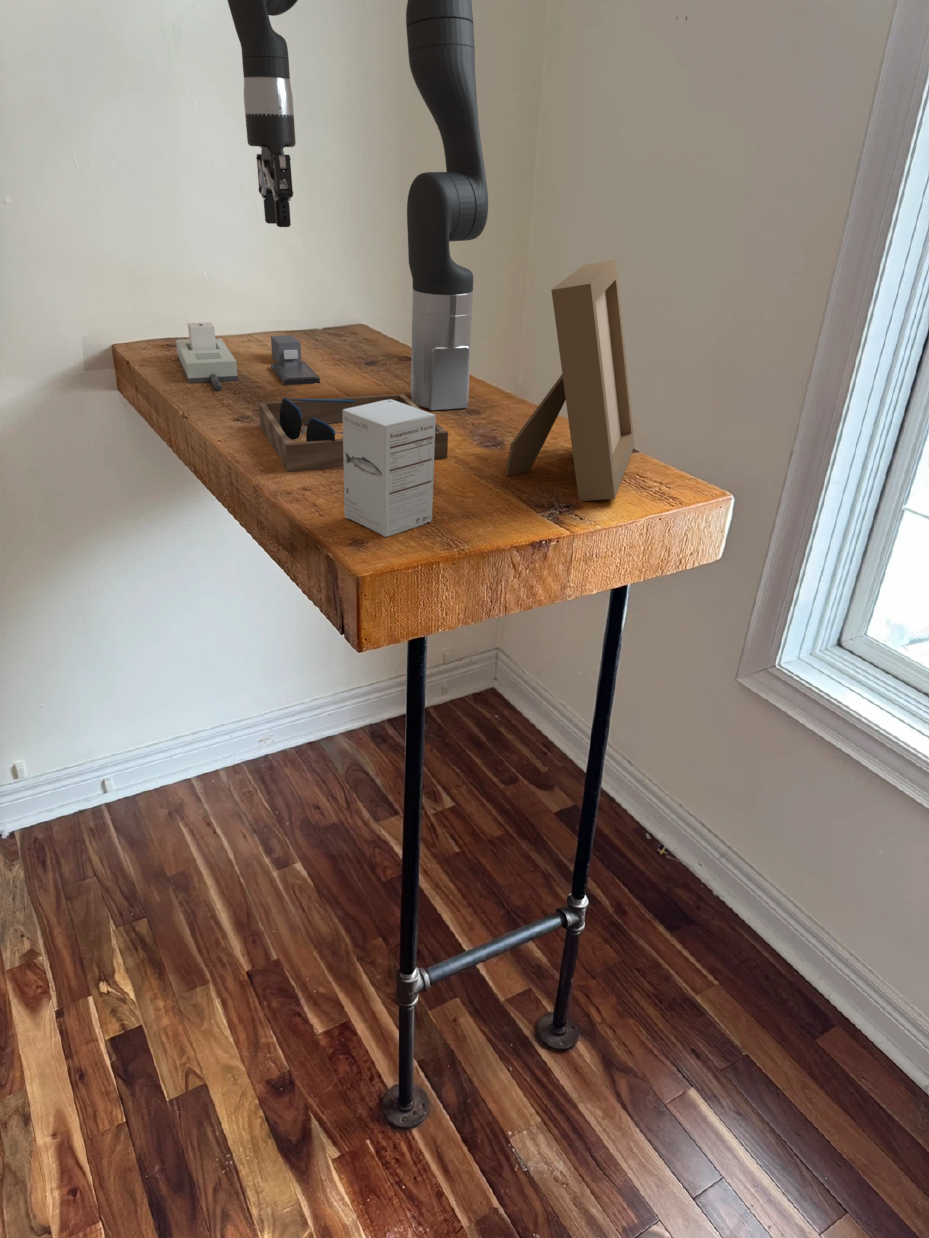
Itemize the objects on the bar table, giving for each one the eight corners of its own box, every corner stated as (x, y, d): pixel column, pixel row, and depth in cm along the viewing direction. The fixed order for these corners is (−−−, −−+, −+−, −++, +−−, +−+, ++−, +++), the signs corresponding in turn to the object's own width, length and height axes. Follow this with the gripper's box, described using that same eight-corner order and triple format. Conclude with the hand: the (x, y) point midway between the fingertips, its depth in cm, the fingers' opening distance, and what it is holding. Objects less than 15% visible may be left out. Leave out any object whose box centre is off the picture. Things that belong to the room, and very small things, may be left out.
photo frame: (633, 451, 125) (660, 263, 113) (613, 506, 107) (642, 288, 95) (531, 438, 128) (546, 254, 116) (494, 489, 110) (508, 276, 98)
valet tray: (447, 458, 119) (448, 432, 118) (287, 472, 112) (286, 445, 110) (402, 416, 135) (403, 393, 133) (260, 426, 128) (258, 402, 126)
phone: (320, 385, 150) (319, 377, 150) (284, 387, 148) (284, 379, 148) (304, 368, 160) (304, 360, 159) (271, 369, 158) (270, 362, 157)
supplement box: (342, 518, 100) (339, 408, 94) (392, 503, 105) (392, 397, 99) (384, 539, 96) (384, 425, 89) (434, 522, 100) (437, 412, 94)
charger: (217, 362, 156) (214, 326, 153) (194, 363, 155) (190, 327, 152) (214, 356, 160) (210, 322, 157) (191, 358, 158) (187, 322, 155)
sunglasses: (276, 429, 126) (278, 394, 124) (366, 429, 134) (370, 396, 132) (329, 467, 114) (332, 429, 112) (425, 464, 122) (430, 428, 120)
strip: (243, 389, 144) (241, 366, 143) (193, 392, 142) (190, 368, 140) (222, 356, 164) (220, 335, 162) (177, 358, 161) (175, 336, 159)
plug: (302, 365, 161) (301, 343, 159) (280, 367, 159) (279, 344, 157) (293, 357, 166) (292, 335, 164) (272, 358, 165) (270, 336, 163)
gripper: (304, 112, 134) (310, 228, 142) (282, 114, 146) (290, 222, 154) (254, 110, 132) (264, 229, 139) (236, 113, 143) (246, 222, 151)
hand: (277, 225), depth 146 cm, fingers open, 8 cm apart
